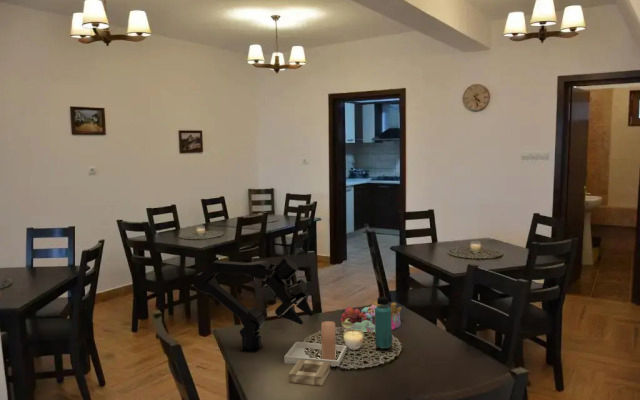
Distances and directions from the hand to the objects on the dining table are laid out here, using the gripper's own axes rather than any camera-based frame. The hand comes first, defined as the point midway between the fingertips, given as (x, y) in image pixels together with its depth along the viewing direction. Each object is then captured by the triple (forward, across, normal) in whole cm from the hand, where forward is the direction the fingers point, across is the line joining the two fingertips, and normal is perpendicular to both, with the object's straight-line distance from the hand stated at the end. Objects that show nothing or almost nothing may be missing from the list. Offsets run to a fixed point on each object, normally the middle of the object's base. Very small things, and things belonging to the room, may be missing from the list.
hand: (307, 319), depth 187 cm
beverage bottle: (+28, +14, -8) cm, 32 cm away
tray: (+12, -1, +7) cm, 14 cm away
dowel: (+15, -2, +3) cm, 16 cm away
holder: (+15, -16, +4) cm, 22 cm away
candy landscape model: (+20, +39, 0) cm, 43 cm away
